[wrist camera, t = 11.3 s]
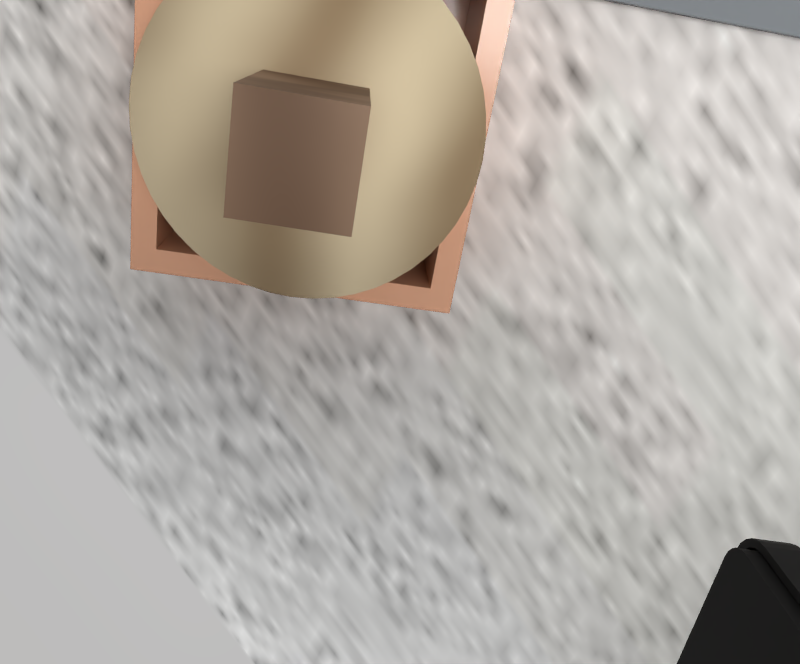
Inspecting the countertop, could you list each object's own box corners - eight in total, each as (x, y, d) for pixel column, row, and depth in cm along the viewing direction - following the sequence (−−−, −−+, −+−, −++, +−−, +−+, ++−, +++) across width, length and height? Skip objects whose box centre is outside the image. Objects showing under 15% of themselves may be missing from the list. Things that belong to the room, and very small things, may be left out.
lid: (515, -26, 22) (571, -45, 16) (444, 307, 27) (468, 390, 21) (144, -100, 21) (55, -151, 15) (135, 262, 26) (64, 337, 20)
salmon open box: (494, -22, 27) (521, -31, 22) (436, 271, 32) (449, 313, 27) (177, -83, 26) (136, -106, 21) (165, 232, 30) (130, 268, 26)
